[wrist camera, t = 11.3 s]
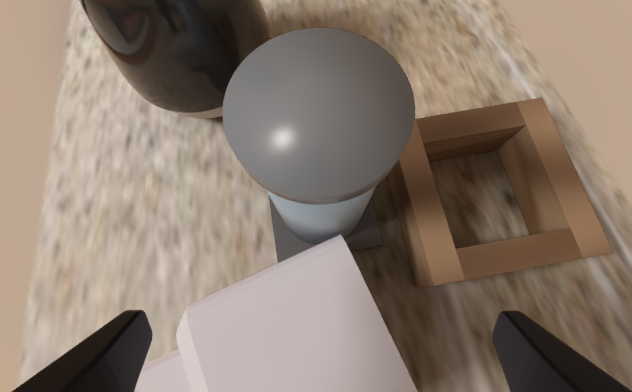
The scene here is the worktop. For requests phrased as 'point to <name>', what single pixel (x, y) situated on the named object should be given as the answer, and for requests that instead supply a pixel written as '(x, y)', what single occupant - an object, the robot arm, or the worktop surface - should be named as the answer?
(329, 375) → the charger
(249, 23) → the dark egg-shaped device
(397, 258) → the worktop surface
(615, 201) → the worktop surface
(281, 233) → the rubber mat
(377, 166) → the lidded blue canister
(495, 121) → the block
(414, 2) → the worktop surface
